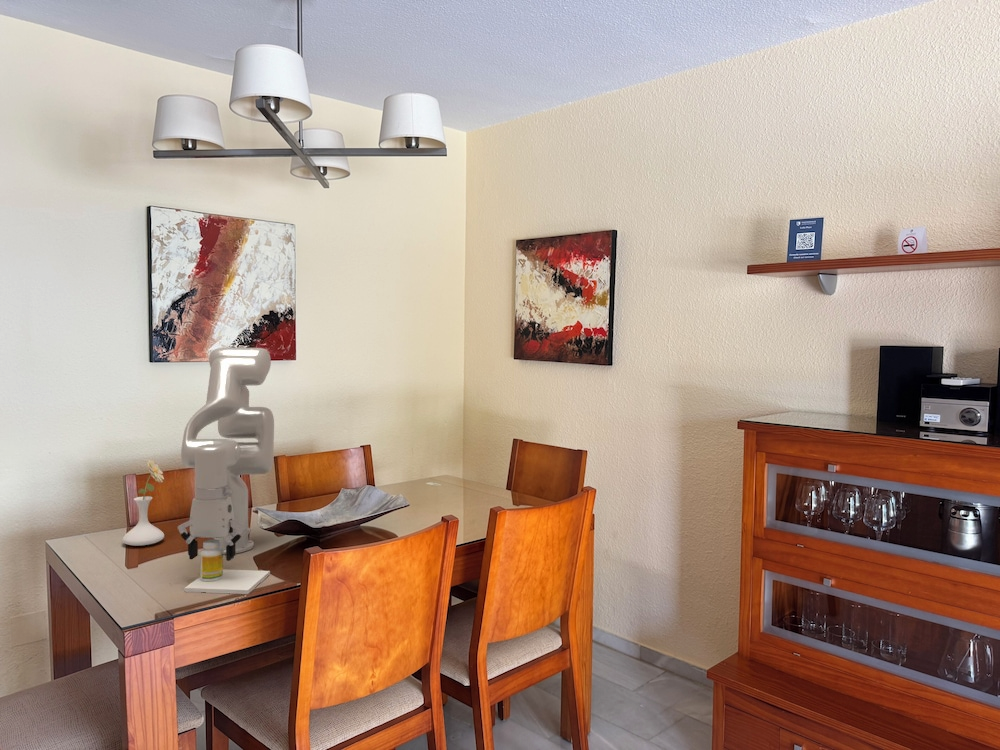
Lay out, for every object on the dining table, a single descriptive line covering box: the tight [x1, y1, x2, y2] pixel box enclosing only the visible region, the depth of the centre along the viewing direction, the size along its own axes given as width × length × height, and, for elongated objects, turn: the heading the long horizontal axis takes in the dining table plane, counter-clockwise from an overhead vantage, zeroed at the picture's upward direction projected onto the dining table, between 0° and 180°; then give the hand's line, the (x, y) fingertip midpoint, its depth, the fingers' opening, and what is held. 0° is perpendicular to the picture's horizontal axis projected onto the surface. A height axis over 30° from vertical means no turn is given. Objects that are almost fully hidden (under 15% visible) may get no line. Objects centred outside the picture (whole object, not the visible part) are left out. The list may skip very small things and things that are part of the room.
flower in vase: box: [121, 459, 165, 547], centre depth 209 cm, size 13×11×25 cm
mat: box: [183, 568, 271, 595], centre depth 176 cm, size 14×16×1 cm
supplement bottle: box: [199, 538, 224, 581], centre depth 177 cm, size 5×5×10 cm
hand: (211, 558), depth 177 cm, fingers open, 9 cm apart
